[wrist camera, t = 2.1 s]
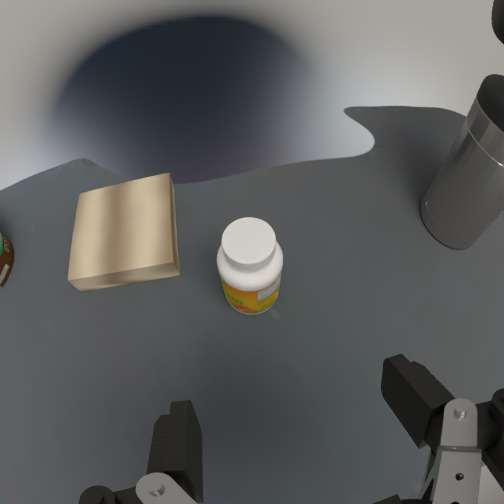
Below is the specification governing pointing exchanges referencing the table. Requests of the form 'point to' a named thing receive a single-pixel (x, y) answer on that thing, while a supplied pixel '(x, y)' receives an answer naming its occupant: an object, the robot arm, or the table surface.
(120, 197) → the base block
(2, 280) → the food container
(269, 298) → the supplement bottle
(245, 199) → the table surface
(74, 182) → the table surface
